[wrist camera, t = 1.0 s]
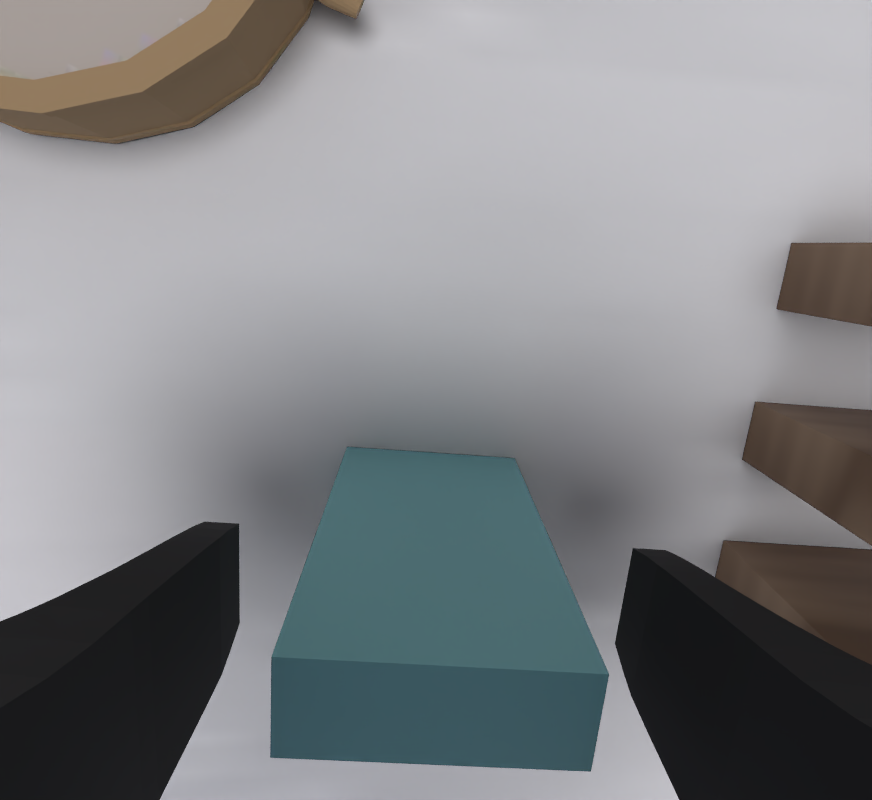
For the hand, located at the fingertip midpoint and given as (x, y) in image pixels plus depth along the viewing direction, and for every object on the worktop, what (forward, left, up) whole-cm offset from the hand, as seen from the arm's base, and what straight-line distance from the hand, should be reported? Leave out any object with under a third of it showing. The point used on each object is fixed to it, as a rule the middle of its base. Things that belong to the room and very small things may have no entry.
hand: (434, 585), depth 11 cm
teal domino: (0, 0, -5) cm, 5 cm away
